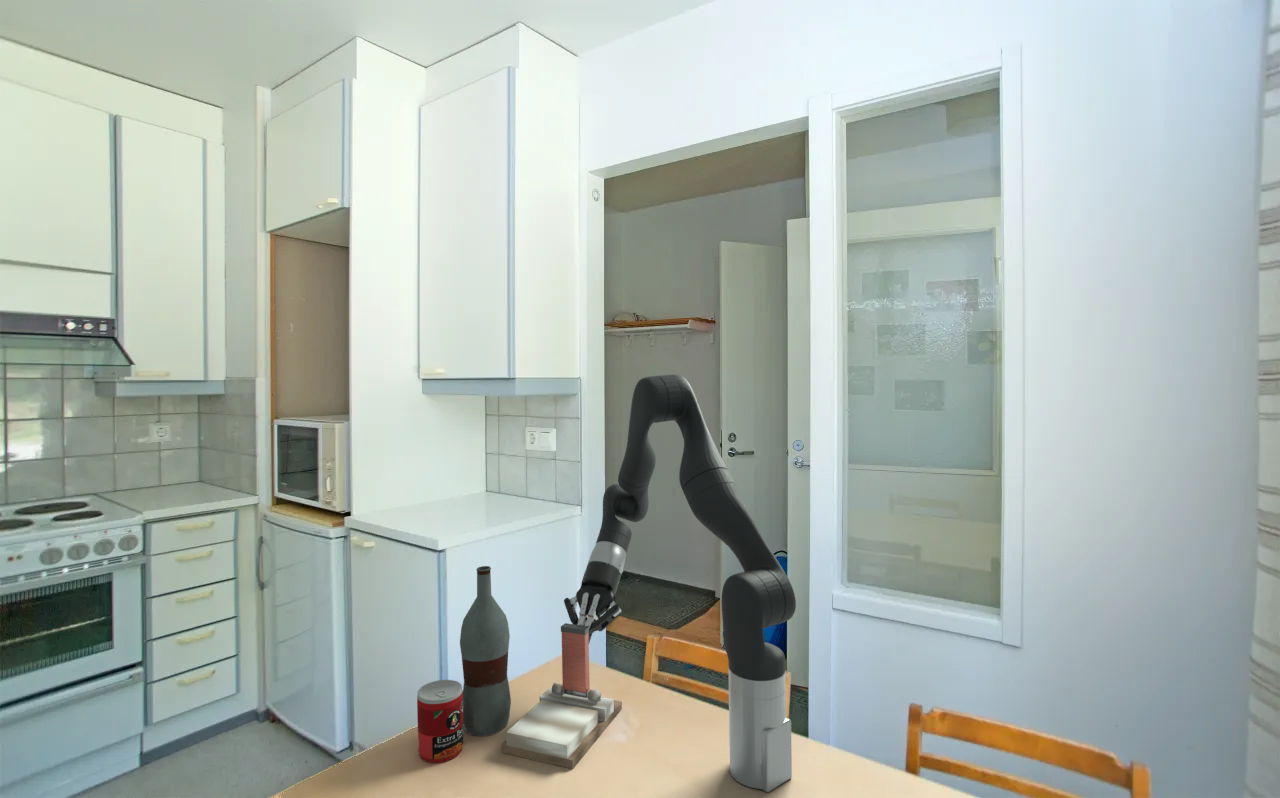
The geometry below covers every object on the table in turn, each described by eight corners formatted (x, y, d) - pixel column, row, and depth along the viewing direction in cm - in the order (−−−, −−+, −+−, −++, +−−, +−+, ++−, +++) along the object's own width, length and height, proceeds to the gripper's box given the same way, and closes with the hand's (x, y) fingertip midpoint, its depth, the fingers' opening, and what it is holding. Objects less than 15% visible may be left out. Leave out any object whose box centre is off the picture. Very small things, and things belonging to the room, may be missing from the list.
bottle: (488, 707, 126) (485, 558, 126) (521, 720, 121) (518, 565, 121) (450, 729, 118) (447, 570, 118) (485, 743, 113) (481, 577, 113)
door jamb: (559, 697, 130) (559, 669, 130) (621, 709, 125) (621, 679, 125) (501, 752, 110) (501, 719, 110) (572, 769, 105) (572, 734, 105)
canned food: (436, 769, 106) (434, 704, 105) (408, 753, 110) (407, 691, 110) (473, 748, 112) (472, 687, 112) (445, 734, 117) (444, 675, 116)
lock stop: (566, 691, 123) (565, 623, 123) (590, 695, 122) (589, 626, 121) (562, 695, 122) (560, 626, 121) (586, 700, 120) (584, 629, 120)
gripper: (570, 556, 133) (542, 636, 123) (628, 562, 128) (603, 646, 118) (583, 573, 139) (556, 651, 128) (638, 580, 134) (615, 661, 123)
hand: (579, 648), depth 123 cm, fingers closed
